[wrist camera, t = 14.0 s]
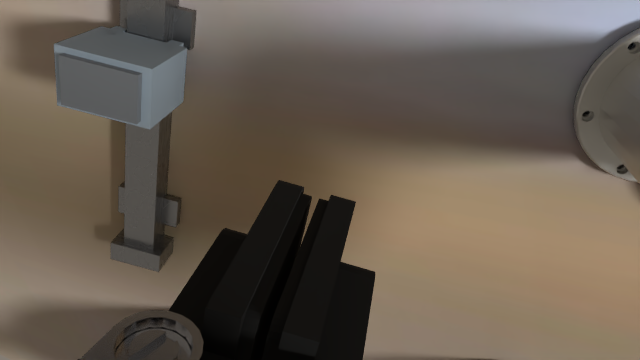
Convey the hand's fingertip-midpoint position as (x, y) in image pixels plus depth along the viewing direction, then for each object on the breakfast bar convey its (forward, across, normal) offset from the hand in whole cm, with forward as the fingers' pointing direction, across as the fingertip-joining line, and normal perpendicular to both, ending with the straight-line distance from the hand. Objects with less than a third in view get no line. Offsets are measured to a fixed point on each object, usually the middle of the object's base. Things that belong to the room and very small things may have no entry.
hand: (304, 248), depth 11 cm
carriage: (+29, +18, +8) cm, 35 cm away
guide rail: (+31, +18, +14) cm, 38 cm away
